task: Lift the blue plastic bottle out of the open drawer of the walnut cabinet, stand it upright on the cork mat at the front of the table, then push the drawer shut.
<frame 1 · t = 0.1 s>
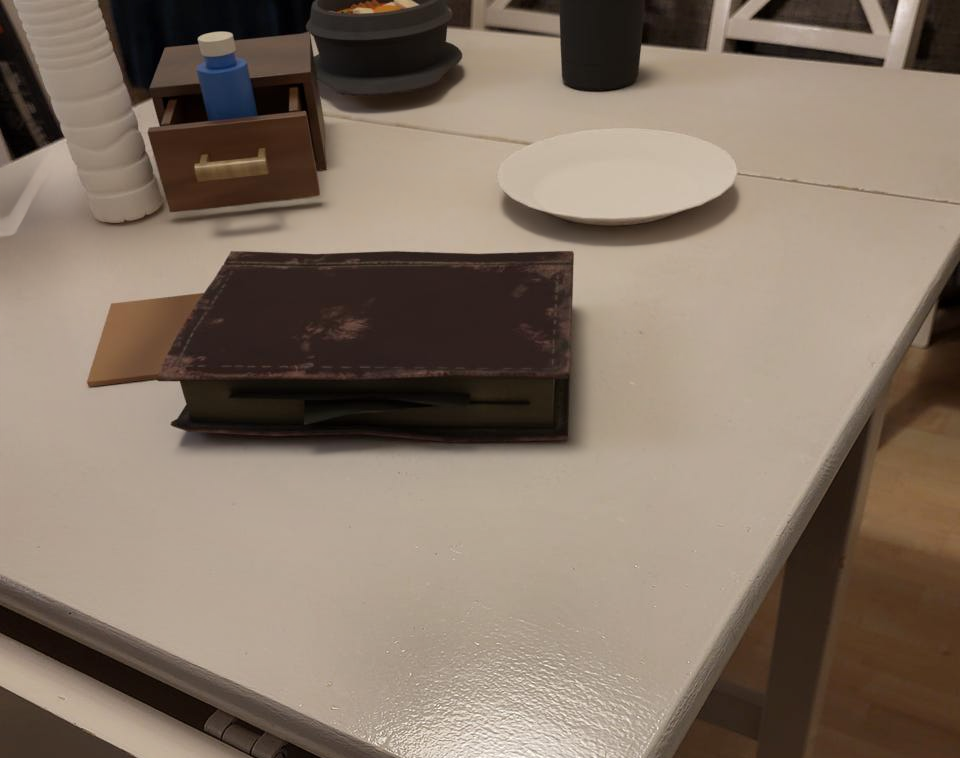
plate: (614, 197, 87), on the table
casserole: (386, 80, 116), on the table
diary: (388, 373, 67), on the table, touching mat
bottle: (244, 170, 91), point 2 cm above the table, touching drawer
mat: (168, 337, 73), on the table
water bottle: (118, 214, 91), on the table, touching gripper
cabinet: (254, 153, 100), on the table
drawer: (238, 148, 89), point 4 cm above the table, slide at 8.0 cm, touching bottle
pen holder: (599, 81, 111), on the table
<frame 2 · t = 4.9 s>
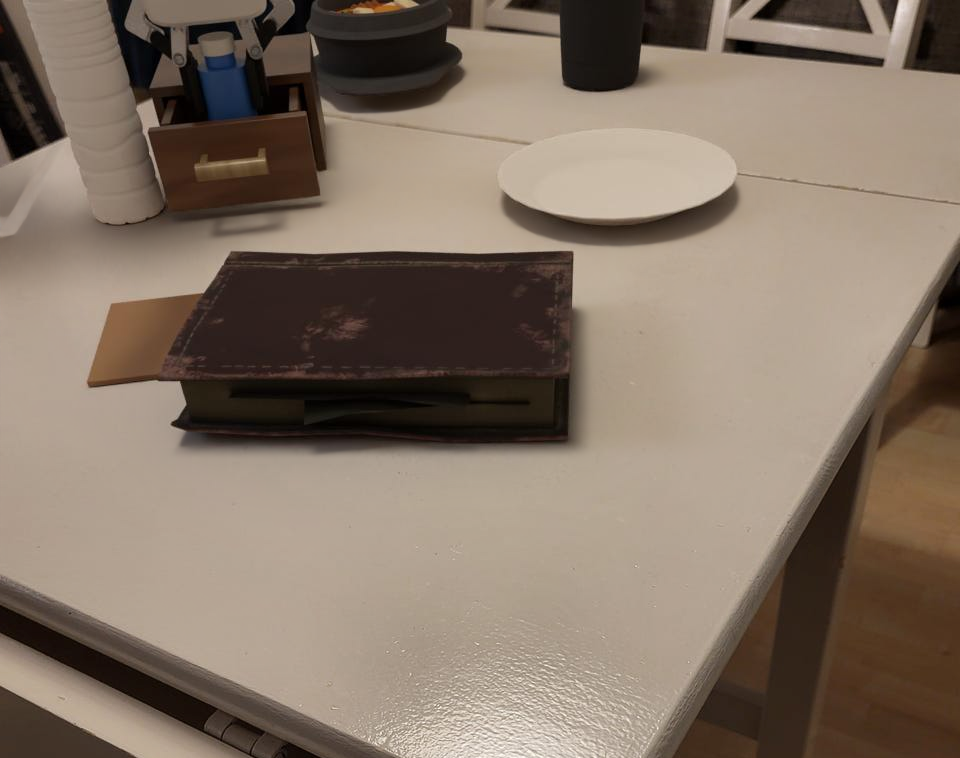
hand: (230, 106, 87), 8 cm above the table, tool pointing down, fingers closed on bottle, 4 cm apart
bottle: (244, 170, 91), point 2 cm above the table, touching drawer, gripper
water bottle: (119, 215, 91), on the table
everything else where it was.
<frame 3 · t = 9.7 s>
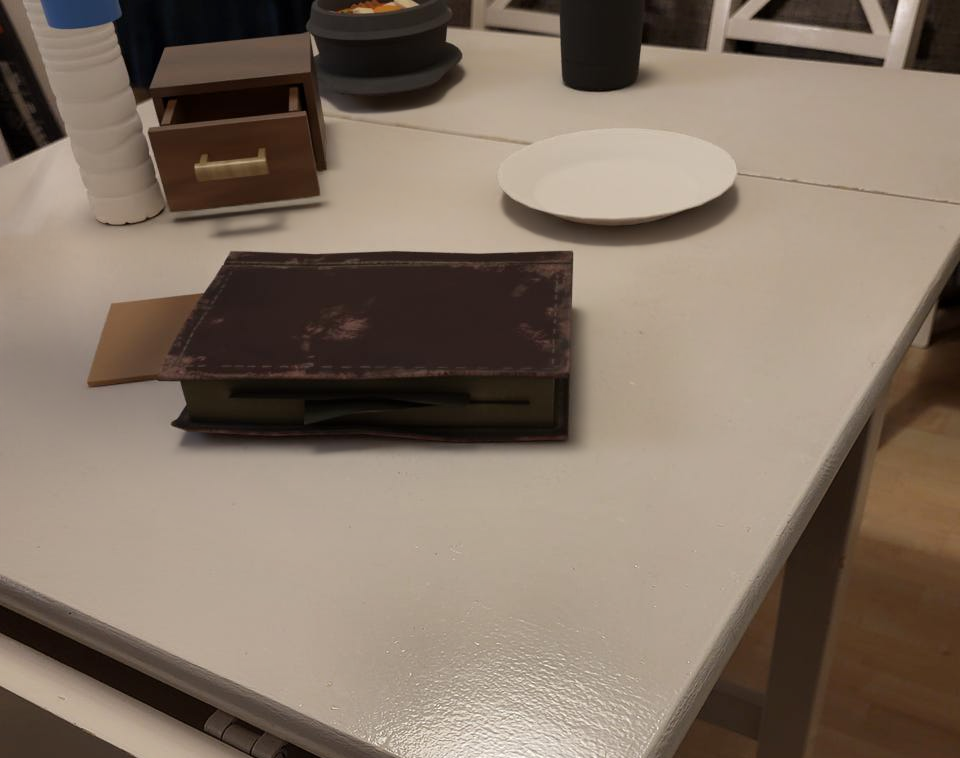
bottle: (85, 19, 59), point 21 cm above the table, touching gripper
drawer: (238, 148, 89), point 4 cm above the table, slide at 8.0 cm
everything else where it was.
when the fingers open (6 cm above the table, at t = 14.4 s): bottle stays where it is, resting on mat.
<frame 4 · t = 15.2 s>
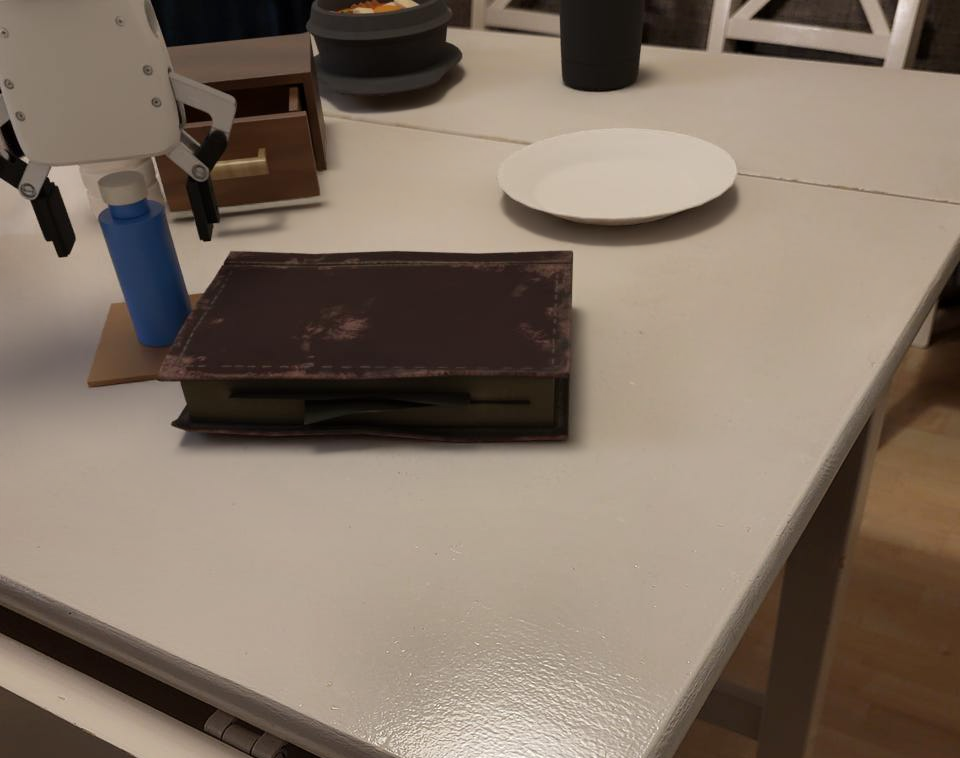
hand: (138, 241, 68), 7 cm above the table, tool pointing down, fingers open, 9 cm apart
bottle: (167, 332, 72), resting on mat
everything else where it was.
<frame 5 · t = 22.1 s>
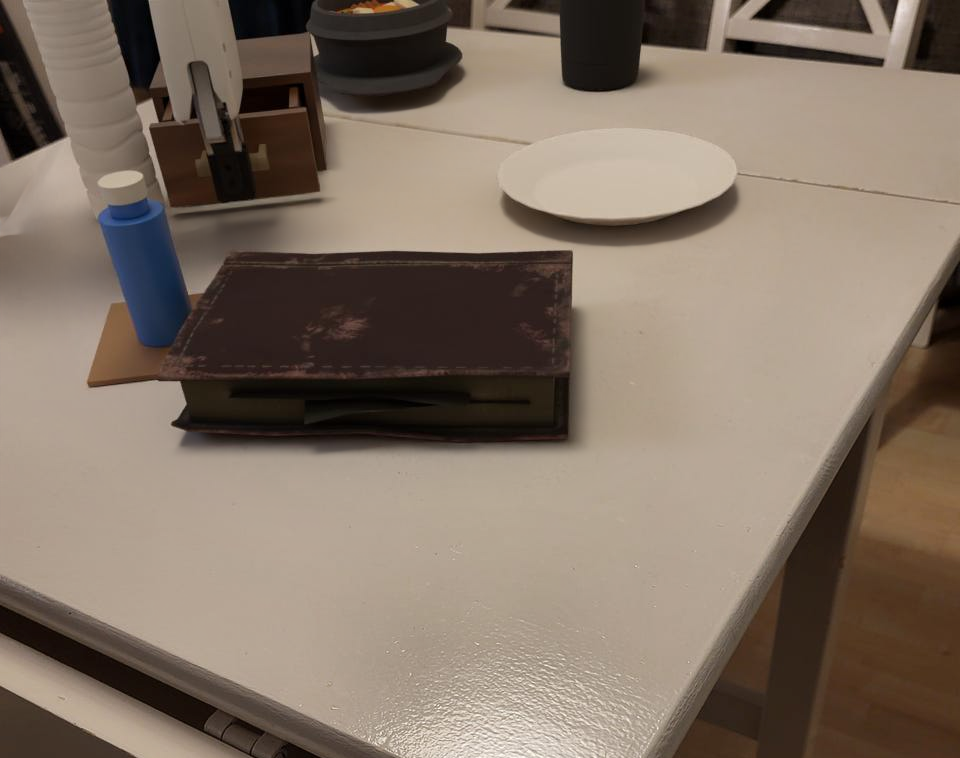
hand: (237, 197, 83), 3 cm above the table, tool pointing down, fingers closed
drawer: (239, 144, 89), point 4 cm above the table, slide at 6.9 cm, touching gripper
everything else where it was.
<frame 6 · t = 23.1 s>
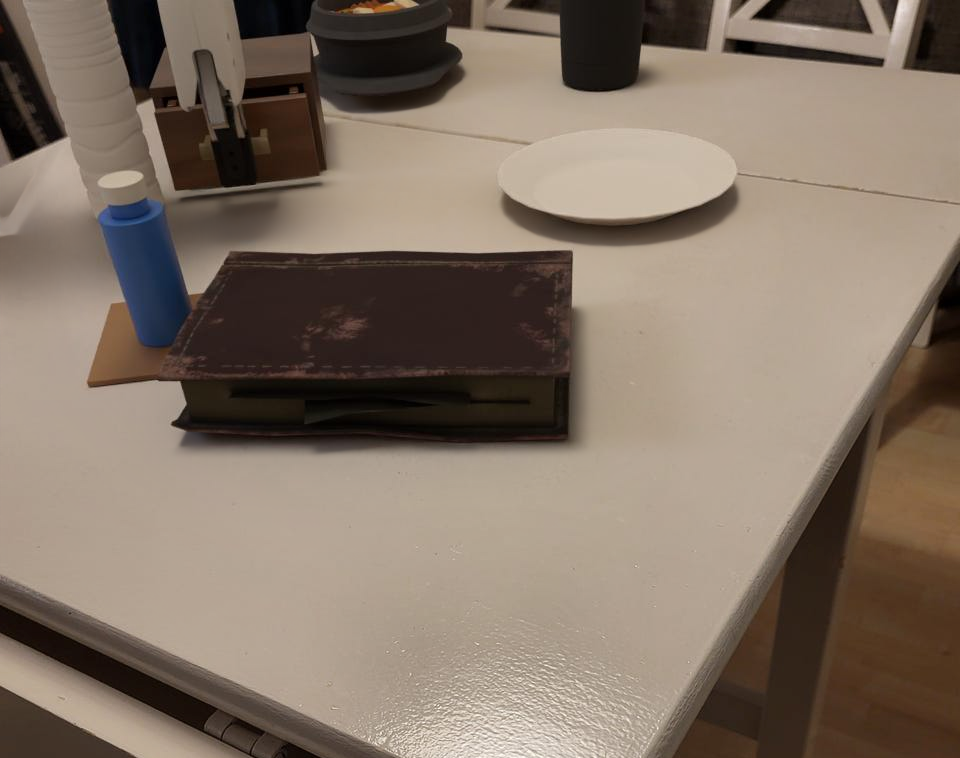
hand: (240, 182, 86), 3 cm above the table, tool pointing down, fingers closed
drawer: (241, 130, 92), point 4 cm above the table, slide at 2.9 cm, touching gripper
everything else where it was.
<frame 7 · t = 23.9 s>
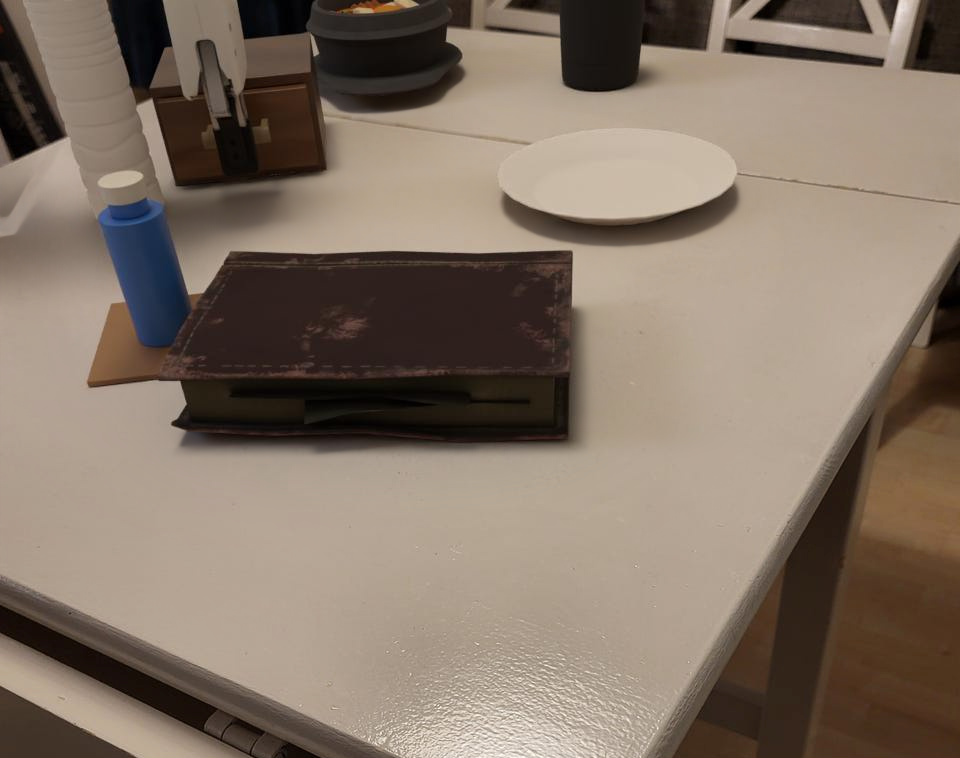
hand: (242, 170, 88), 3 cm above the table, tool pointing down, fingers closed
drawer: (242, 120, 94), point 4 cm above the table, slide at 0.0 cm, touching cabinet, gripper
everything else where it was.
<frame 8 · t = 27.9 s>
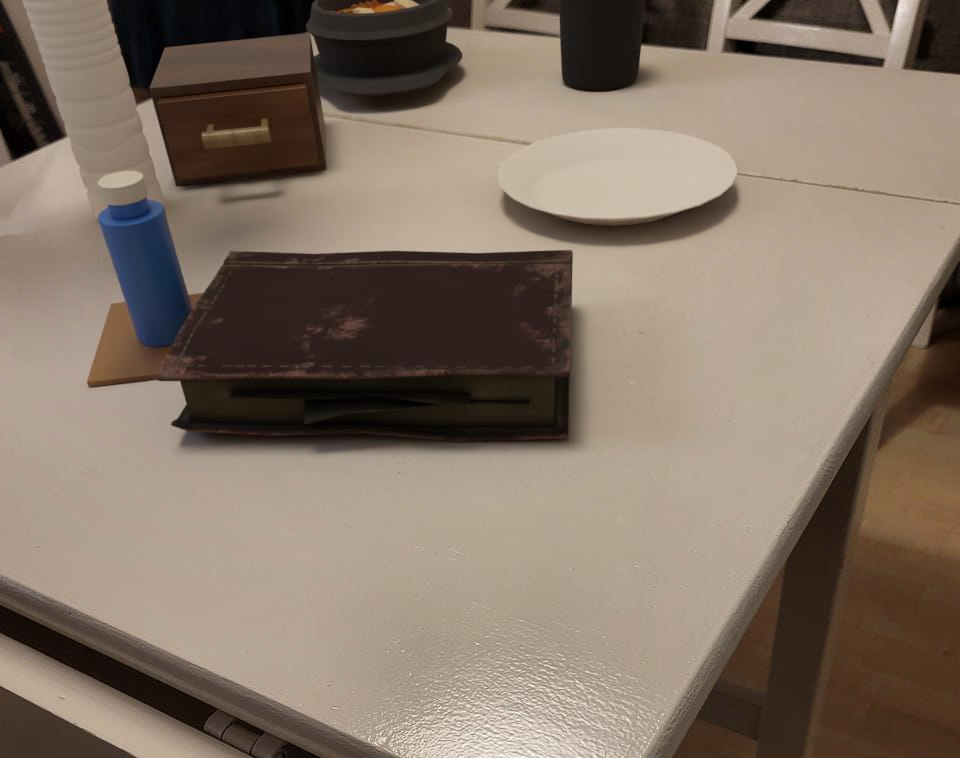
drawer: (242, 120, 94), point 4 cm above the table, slide at 0.0 cm, touching cabinet
everything else where it was.
at the end: bottle 0.1 cm off-centre on the mat, point 0.4 cm above the mat's base; bottle tilted 0°; drawer slide at 0.0 cm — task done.
